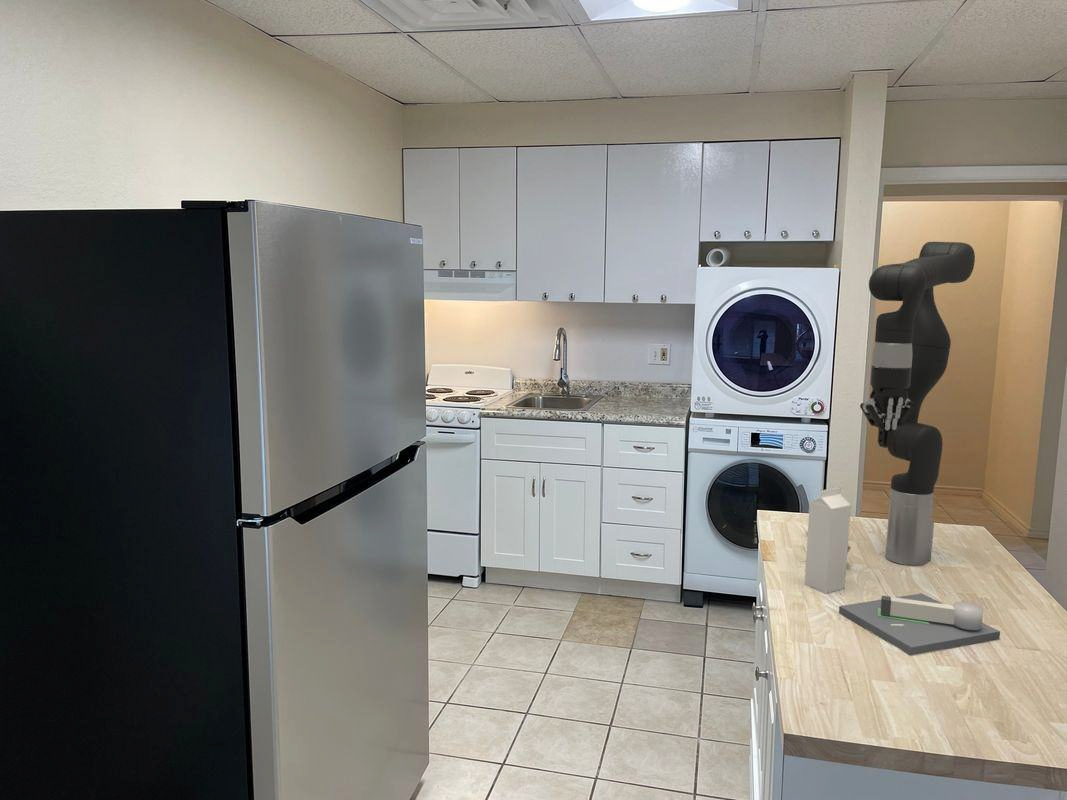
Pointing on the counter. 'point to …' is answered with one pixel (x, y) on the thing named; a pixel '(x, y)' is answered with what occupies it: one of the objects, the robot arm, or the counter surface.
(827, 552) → the milk
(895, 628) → the board
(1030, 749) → the counter surface
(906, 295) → the robot arm
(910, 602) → the tuning lever
